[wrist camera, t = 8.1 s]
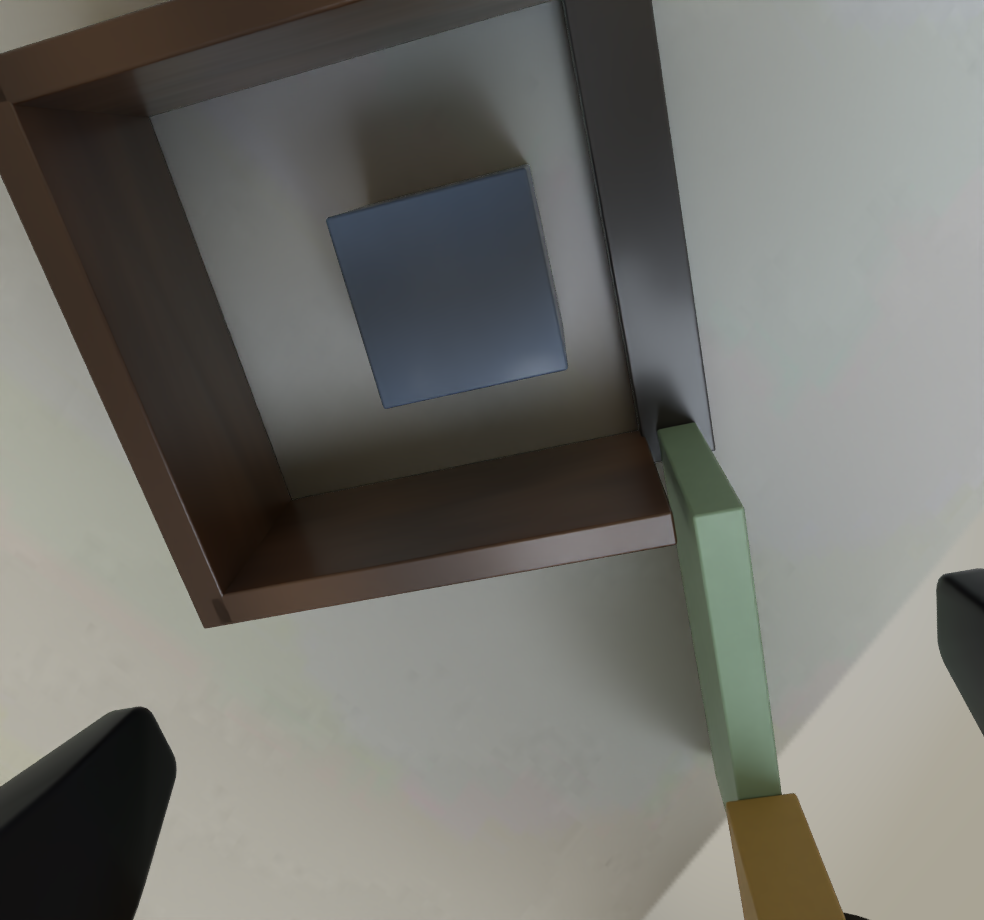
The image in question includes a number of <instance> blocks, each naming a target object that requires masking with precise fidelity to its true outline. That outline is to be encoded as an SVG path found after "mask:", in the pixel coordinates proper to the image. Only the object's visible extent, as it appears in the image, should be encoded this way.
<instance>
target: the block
mask: <svg viewBox="0 0 984 920" xmlns="http://www.w3.org/2000/svg"><path fill="white" fill-rule="evenodd" d="M326 223H327V226H328V229H329V233H330V236H331V239H332V242H333V246H334V249H335V252H336V255H337V259H338V262H339V265H340V268H341V272H342V275H343V278H344V281H345V285H346V288H347V291H348V294H349V298H350V301H351V304H352V307H353V311H354V314H355V317H356V320H357V324H358V327H359V330H360V333H361V337H362V340H363V343H364V346H365V350H366V353H367V356H368V359H369V363H370V366H371V369H372V372H373V375H374V379H375V382H376V385H377V388H378V392H379V395H380V398H381V401H382V405H383V407H384V408H385V409H388V408H392V407H397V406H402V405H406V404H411V403H416V402H420V401H425V400H429V399H434V398H439V397H443V396H448V395H453V394H457V393H462V392H467V391H471V390H476V389H480V388H485V387H490V386H494V385H499V384H504V383H508V382H513V381H518V380H522V379H527V378H531V377H536V376H541V375H545V374H550V373H555V372H559V371H564V370H566V369H568V363H567V355H566V346H565V338H564V330H563V324H562V319H561V314H560V309H559V304H558V300H557V295H556V290H555V285H554V280H553V275H552V271H551V266H550V261H549V256H548V251H547V247H546V242H545V237H544V232H543V227H542V223H541V218H540V213H539V208H538V203H537V199H536V194H535V189H534V184H533V179H532V174H531V170H530V166H529V165H528V164H525V165H522V166H518V167H514V168H510V169H506V170H502V171H498V172H494V173H491V174H487V175H483V176H479V177H475V178H471V179H467V180H463V181H460V182H456V183H452V184H448V185H444V186H440V187H436V188H432V189H429V190H425V191H421V192H417V193H413V194H409V195H405V196H401V197H398V198H394V199H390V200H386V201H382V202H378V203H374V204H370V205H367V206H364V207H361V208H357V209H354V210H351V211H348V212H344V213H341V214H338V215H334V216H331V217H328V218H327V219H326Z"/></svg>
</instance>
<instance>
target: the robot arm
mask: <svg viewBox="0 0 984 920" xmlns="http://www.w3.org/2000/svg"><path fill="white" fill-rule="evenodd" d="M936 594H937V634H938V646H939V650H940V654H941V657H942V659H943V662H944V664H945V666H946V668H947V669H948V671H949V673H950V675H951V677H952V679H953V680H954V682H955V684H956V686H957V688H958V690H959V691H960V693H961V695H962V697H963V699H964V701H965V702H966V704H967V706H968V708H969V710H970V712H971V713H972V715H973V717H974V719H975V721H976V723H977V725H978V727H979V728H980V730H981V732H982V734H983V735H984V569H972V570H966V571H960V572H954V573H948V574H944V575H942V576H941V577H940V578H939V580H938V583H937V589H936ZM175 778H176V761H175V757H174V754H173V752H172V750H171V748H170V746H169V745H168V743H167V741H166V739H165V737H164V735H163V733H162V731H161V729H160V727H159V725H158V723H157V721H156V719H155V717H154V716H153V714H152V712H150V711H149V710H148V709H147V708H144V707H133V708H127V709H121V710H115V711H112V712H109V713H108V714H106V715H104V716H103V717H101V718H100V719H98V720H97V721H96V722H94V723H93V724H91V725H90V726H88V727H87V728H85V729H84V730H82V731H81V732H79V733H78V734H77V735H75V736H74V737H72V738H71V739H69V740H68V741H66V742H65V743H63V744H62V745H61V746H59V747H58V748H56V749H55V750H53V751H52V752H50V753H49V754H47V755H46V756H44V757H43V758H42V759H40V760H39V761H37V762H36V763H34V764H33V765H31V766H30V767H28V768H27V769H25V770H24V771H23V772H21V773H20V774H18V775H17V776H15V777H14V778H12V779H11V780H9V781H8V782H7V783H5V784H4V785H2V786H1V787H0V920H133V919H134V916H135V913H136V910H137V908H138V905H139V902H140V899H141V895H142V892H143V889H144V886H145V883H146V879H147V876H148V872H149V869H150V865H151V862H152V858H153V855H154V852H155V848H156V845H157V841H158V838H159V834H160V831H161V827H162V824H163V820H164V817H165V814H166V810H167V807H168V803H169V800H170V796H171V793H172V789H173V786H174V782H175Z"/></svg>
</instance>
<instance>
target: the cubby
mask: <svg viewBox="0 0 984 920" xmlns="http://www.w3.org/2000/svg"><path fill="white" fill-rule="evenodd" d="M548 1H552V0H170V1H167V2H164V3H161V4H157V5H154V6H151V7H148V8H144V9H141V10H138V11H135V12H132V13H128V14H125V15H122V16H119V17H116V18H112V19H109V20H106V21H103V22H100V23H96V24H93V25H90V26H87V27H84V28H80V29H77V30H74V31H71V32H68V33H64V34H61V35H58V36H55V37H52V38H48V39H45V40H42V41H39V42H36V43H32V44H29V45H26V46H23V47H20V48H16V49H13V50H10V51H7V52H3V53H0V175H1V177H2V180H3V182H4V184H5V186H6V189H7V191H8V193H9V195H10V197H11V200H12V202H13V204H14V206H15V209H16V211H17V213H18V215H19V217H20V220H21V222H22V224H23V226H24V229H25V231H26V233H27V235H28V237H29V240H30V242H31V244H32V246H33V249H34V251H35V253H36V255H37V257H38V260H39V262H40V264H41V266H42V269H43V271H44V273H45V275H46V277H47V280H48V282H49V284H50V286H51V289H52V291H53V293H54V295H55V297H56V300H57V302H58V304H59V306H60V309H61V311H62V313H63V315H64V318H65V320H66V322H67V324H68V326H69V329H70V331H71V333H72V335H73V338H74V340H75V342H76V344H77V346H78V349H79V351H80V353H81V355H82V358H83V360H84V362H85V364H86V366H87V369H88V371H89V373H90V375H91V378H92V380H93V382H94V384H95V386H96V389H97V391H98V393H99V395H100V398H101V400H102V402H103V404H104V406H105V409H106V411H107V413H108V415H109V418H110V420H111V422H112V424H113V426H114V429H115V431H116V433H117V435H118V438H119V440H120V442H121V444H122V447H123V449H124V451H125V453H126V455H127V458H128V460H129V462H130V464H131V467H132V469H133V471H134V473H135V475H136V478H137V480H138V482H139V484H140V487H141V489H142V491H143V493H144V495H145V498H146V500H147V502H148V504H149V507H150V509H151V511H152V513H153V515H154V518H155V520H156V522H157V524H158V527H159V529H160V531H161V533H162V535H163V538H164V540H165V542H166V544H167V547H168V549H169V551H170V553H171V555H172V558H173V560H174V562H175V564H176V567H177V569H178V571H179V573H180V575H181V578H182V580H183V582H184V584H185V587H186V589H187V591H188V593H189V596H190V598H191V600H192V602H193V604H194V607H195V609H196V611H197V613H198V616H199V618H200V620H201V622H202V624H203V627H204V628H211V627H217V626H222V625H228V624H233V623H239V622H244V621H250V620H256V619H261V618H267V617H272V616H278V615H284V614H289V613H295V612H301V611H306V610H312V609H317V608H323V607H329V606H334V605H340V604H346V603H351V602H357V601H362V600H368V599H374V598H379V597H385V596H390V595H396V594H402V593H407V592H413V591H419V590H424V589H430V588H435V587H441V586H447V585H452V584H458V583H464V582H469V581H475V580H480V579H486V578H492V577H497V576H503V575H508V574H514V573H520V572H525V571H531V570H537V569H542V568H548V567H553V566H559V565H565V564H570V563H576V562H581V561H587V560H593V559H598V558H604V557H610V556H615V555H621V554H626V553H632V552H638V551H643V550H649V549H655V548H660V547H666V546H671V545H676V544H677V535H676V529H675V523H674V517H673V512H672V510H671V507H670V504H669V501H668V499H667V496H666V493H665V490H664V488H663V485H662V482H661V479H660V477H659V474H658V471H657V468H656V466H655V462H660V461H662V458H661V452H660V446H659V440H658V435H657V431H658V430H659V429H663V428H668V427H673V426H678V425H683V424H688V423H696V424H697V426H698V428H699V430H700V431H701V433H702V435H703V437H704V439H705V440H706V442H707V444H708V446H709V447H710V449H711V451H715V443H714V436H713V429H712V422H711V415H710V408H709V401H708V394H707V387H706V380H705V373H704V366H703V359H702V352H701V345H700V338H699V331H698V324H697V317H696V310H695V303H694V296H693V289H692V282H691V274H690V267H689V260H688V253H687V246H686V239H685V232H684V225H683V218H682V211H681V204H680V197H679V190H678V183H677V176H676V169H675V162H674V155H673V148H672V141H671V134H670V127H669V120H668V113H667V106H666V99H665V92H664V84H663V77H662V70H661V63H660V56H659V49H658V42H657V35H656V28H655V21H654V14H653V7H652V0H562V5H563V10H564V16H565V22H566V27H567V33H568V38H569V44H570V49H571V55H572V60H573V66H574V72H575V77H576V83H577V88H578V94H579V99H580V105H581V110H582V116H583V122H584V127H585V133H586V138H587V144H588V149H589V155H590V160H591V166H592V172H593V177H594V183H595V188H596V194H597V199H598V205H599V210H600V216H601V222H602V227H603V233H604V238H605V244H606V249H607V255H608V260H609V266H610V272H611V277H612V283H613V288H614V294H615V299H616V305H617V311H618V316H619V322H620V327H621V333H622V338H623V344H624V349H625V355H626V361H627V366H628V372H629V377H630V383H631V388H632V394H633V399H634V405H635V411H636V416H637V422H638V427H639V430H637V431H632V432H627V433H622V434H617V435H612V436H607V437H602V438H597V439H592V440H587V441H582V442H577V443H573V444H568V445H563V446H558V447H553V448H548V449H543V450H538V451H533V452H528V453H523V454H518V455H513V456H508V457H503V458H498V459H493V460H488V461H483V462H478V463H473V464H468V465H463V466H458V467H453V468H448V469H443V470H438V471H433V472H428V473H423V474H419V475H414V476H409V477H404V478H399V479H394V480H389V481H384V482H379V483H374V484H369V485H364V486H359V487H354V488H349V489H344V490H339V491H334V492H329V493H324V494H319V495H314V496H309V497H304V498H299V499H294V500H291V498H290V495H289V493H288V490H287V487H286V485H285V482H284V479H283V477H282V474H281V471H280V468H279V466H278V463H277V460H276V458H275V455H274V452H273V450H272V447H271V444H270V442H269V439H268V436H267V434H266V431H265V428H264V426H263V423H262V420H261V417H260V415H259V412H258V409H257V407H256V404H255V401H254V399H253V396H252V393H251V391H250V388H249V385H248V383H247V380H246V377H245V375H244V372H243V369H242V366H241V364H240V361H239V358H238V356H237V353H236V350H235V348H234V345H233V342H232V340H231V337H230V334H229V332H228V329H227V326H226V323H225V321H224V318H223V315H222V313H221V310H220V307H219V305H218V302H217V299H216V297H215V294H214V291H213V289H212V286H211V283H210V281H209V278H208V275H207V272H206V270H205V267H204V264H203V262H202V259H201V256H200V254H199V251H198V248H197V246H196V243H195V240H194V238H193V235H192V232H191V229H190V227H189V224H188V221H187V219H186V216H185V213H184V211H183V208H182V205H181V203H180V200H179V197H178V195H177V192H176V189H175V187H174V184H173V181H172V178H171V176H170V173H169V170H168V168H167V165H166V162H165V160H164V157H163V154H162V152H161V149H160V146H159V144H158V141H157V138H156V136H155V133H154V130H153V127H152V125H151V122H150V119H149V117H150V116H153V115H157V114H160V113H164V112H167V111H171V110H174V109H178V108H181V107H185V106H188V105H191V104H195V103H198V102H202V101H205V100H209V99H212V98H216V97H219V96H223V95H226V94H230V93H233V92H236V91H240V90H243V89H247V88H250V87H254V86H257V85H261V84H264V83H268V82H271V81H275V80H278V79H281V78H285V77H288V76H292V75H295V74H299V73H302V72H306V71H309V70H313V69H316V68H320V67H323V66H327V65H330V64H333V63H337V62H340V61H344V60H347V59H351V58H354V57H358V56H361V55H365V54H368V53H372V52H375V51H378V50H382V49H385V48H389V47H392V46H396V45H399V44H403V43H406V42H410V41H413V40H417V39H420V38H423V37H427V36H430V35H434V34H437V33H441V32H444V31H448V30H451V29H455V28H458V27H462V26H465V25H468V24H472V23H475V22H479V21H482V20H486V19H489V18H493V17H496V16H500V15H503V14H507V13H510V12H513V11H517V10H520V9H524V8H527V7H531V6H534V5H538V4H541V3H545V2H548Z"/></svg>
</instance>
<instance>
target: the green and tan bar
mask: <svg viewBox="0 0 984 920" xmlns="http://www.w3.org/2000/svg"><path fill="white" fill-rule="evenodd" d="M657 435H658V440H659V446H660V452H661V458H662V464H663V470H664V476H665V481H666V487H667V493H668V499H669V504H670V507H671V510H672V512H673V517H674V523H675V529H676V535H677V544H676V546H677V552H678V558H679V563H680V569H681V575H682V581H683V587H684V593H685V598H686V604H687V610H688V616H689V622H690V628H691V634H692V639H693V645H694V651H695V657H696V663H697V669H698V675H699V680H700V686H701V692H702V698H703V704H704V710H705V716H706V721H707V727H708V733H709V739H710V745H711V751H712V757H713V762H714V768H715V774H716V779H717V782H718V786H719V789H720V793H721V797H722V800H723V804H724V807H725V811H726V814H727V818H728V824H729V830H730V836H731V841H732V848H733V853H734V860H735V866H736V871H737V877H738V884H739V889H740V895H741V901H742V907H743V913H744V919H745V920H846V919H845V916H844V914H843V911H842V909H841V907H840V904H839V901H838V899H837V896H836V894H835V891H834V889H833V886H832V884H831V881H830V879H829V876H828V874H827V871H826V869H825V866H824V864H823V861H822V858H821V856H820V853H819V851H818V848H817V846H816V843H815V841H814V838H813V836H812V833H811V831H810V828H809V826H808V823H807V820H806V818H805V816H804V813H803V810H802V808H801V805H800V803H799V800H798V798H797V796H796V795H795V794H794V793H793V794H783V795H782V793H781V786H780V778H779V771H778V763H777V755H776V747H775V740H774V732H773V725H772V717H771V709H770V702H769V694H768V686H767V679H766V671H765V664H764V656H763V648H762V641H761V633H760V625H759V618H758V610H757V603H756V595H755V587H754V580H753V572H752V564H751V557H750V549H749V542H748V534H747V526H746V519H745V511H744V507H743V505H742V504H741V502H740V500H739V498H738V497H737V495H736V493H735V491H734V490H733V488H732V486H731V484H730V483H729V481H728V479H727V477H726V476H725V474H724V472H723V470H722V468H721V467H720V465H719V463H718V461H717V460H716V458H715V456H714V454H713V453H712V451H711V449H710V447H709V446H708V444H707V442H706V440H705V439H704V437H703V435H702V433H701V431H700V430H699V428H698V426H697V424H696V423H688V424H683V425H678V426H673V427H668V428H663V429H659V430H658V431H657Z"/></svg>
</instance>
